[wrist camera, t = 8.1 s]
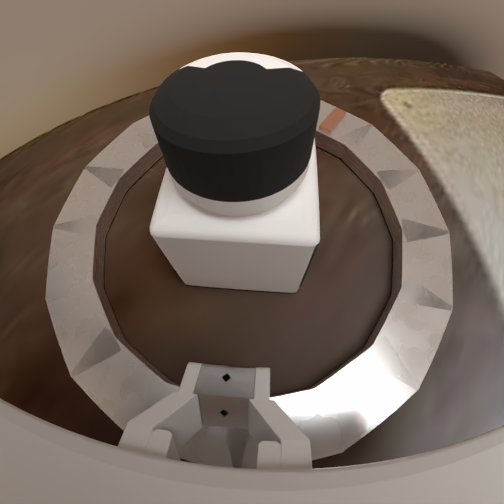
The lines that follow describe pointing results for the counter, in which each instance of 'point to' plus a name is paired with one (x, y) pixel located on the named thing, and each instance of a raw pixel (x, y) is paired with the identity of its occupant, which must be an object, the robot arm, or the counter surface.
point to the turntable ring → (292, 403)
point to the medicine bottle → (238, 172)
